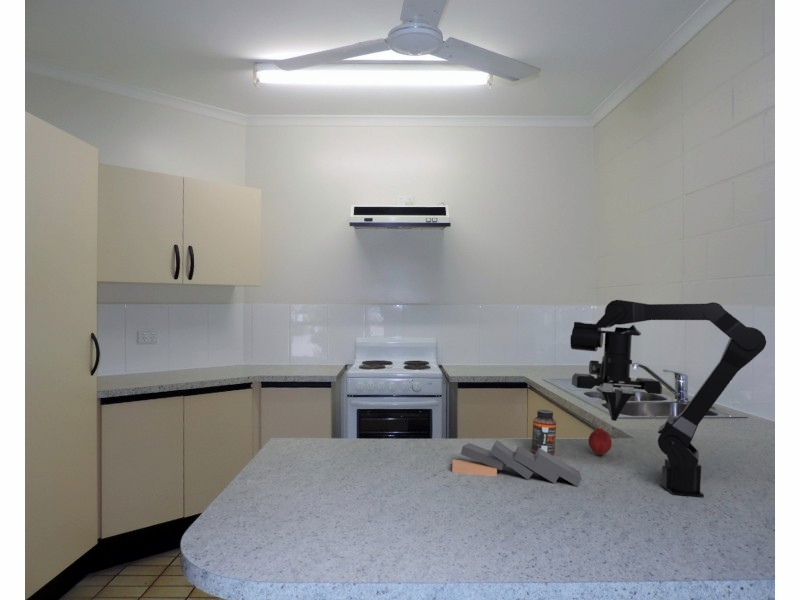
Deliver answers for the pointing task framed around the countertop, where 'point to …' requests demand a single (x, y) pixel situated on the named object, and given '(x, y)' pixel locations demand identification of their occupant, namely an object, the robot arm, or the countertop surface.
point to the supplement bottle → (544, 432)
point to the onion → (600, 441)
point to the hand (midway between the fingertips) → (613, 420)
